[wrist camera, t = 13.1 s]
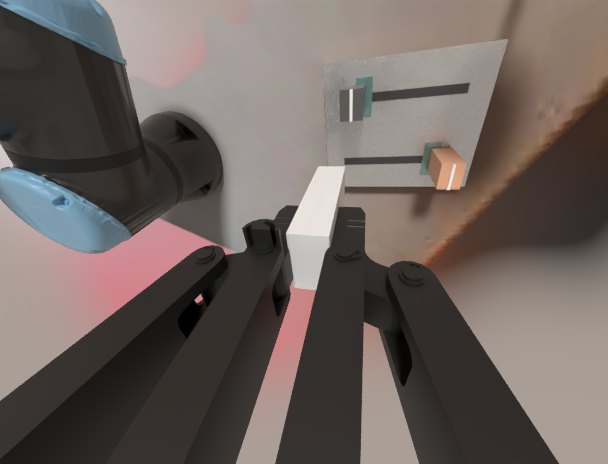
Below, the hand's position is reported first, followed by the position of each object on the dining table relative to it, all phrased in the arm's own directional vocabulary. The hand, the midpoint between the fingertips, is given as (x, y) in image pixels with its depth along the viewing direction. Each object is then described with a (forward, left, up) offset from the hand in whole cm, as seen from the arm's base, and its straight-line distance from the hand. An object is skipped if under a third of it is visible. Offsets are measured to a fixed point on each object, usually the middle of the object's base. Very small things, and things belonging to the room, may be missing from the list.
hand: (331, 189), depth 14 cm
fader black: (0, +2, -22) cm, 22 cm away
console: (+5, -2, -24) cm, 25 cm away
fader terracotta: (+11, -6, -22) cm, 25 cm away
